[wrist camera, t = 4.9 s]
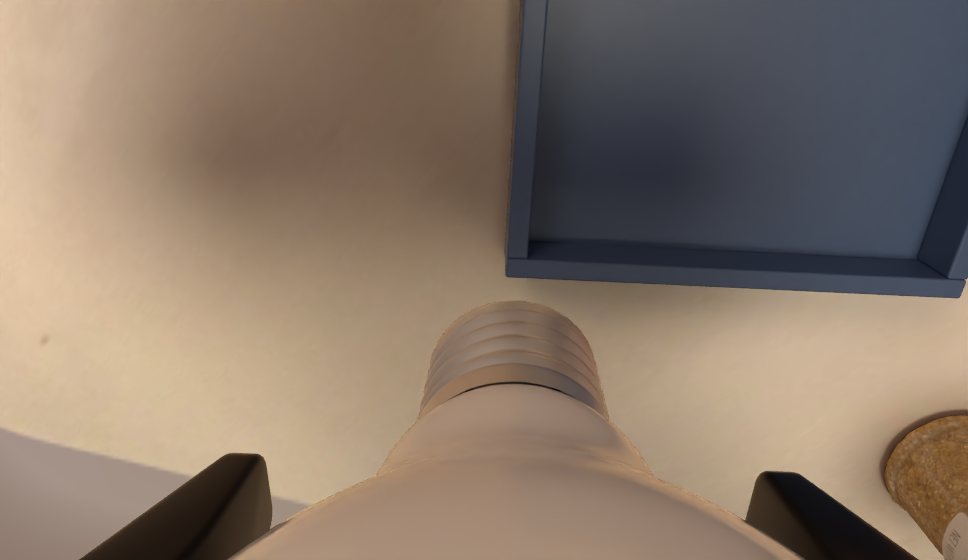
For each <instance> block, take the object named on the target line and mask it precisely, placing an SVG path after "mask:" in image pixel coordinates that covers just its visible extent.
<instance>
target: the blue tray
mask: <svg viewBox="0 0 968 560" xmlns="http://www.w3.org/2000/svg"><path fill="white" fill-rule="evenodd" d="M504 253H505V275H506V277H516V278H538V279H559V280H580V281H601V282H623V283H644V284H665V285H686V286H708V287H729V288H750V289H772V290H793V291H814V292H835V293H857V294H878V295H899V296H920V297H942V298H959V297H960V296H961V293H962V291H963V288H964V286H965V283H966V281H965V280H964V279H967V278H968V0H520V12H519V28H518V44H517V60H516V76H515V91H514V107H513V123H512V139H511V154H510V170H509V186H508V202H507V218H506V233H505V249H504Z"/></svg>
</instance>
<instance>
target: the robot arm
mask: <svg viewBox="0 0 968 560" xmlns="http://www.w3.org/2000/svg"><path fill="white" fill-rule="evenodd" d="M271 521H272V502H271V495H270V488H269V481H268V474H267V467H266V462H265V460H264V458H263V457H262V456H261V455H259V454H248V453H229V454H226V455H224V456H223V457H221V458H220V459H218V460H217V461H215V462H214V463H213V464H211V465H210V466H208V467H207V468H206V469H204V470H203V471H202V472H200V473H199V474H197V475H196V476H195V477H193V478H192V479H190V480H189V481H188V482H186V483H185V484H183V485H182V486H181V487H179V488H178V489H177V490H175V491H174V492H172V493H171V494H170V495H168V496H167V497H165V498H164V499H163V500H161V501H160V502H159V503H157V504H156V505H154V506H153V507H152V508H150V509H149V510H148V511H146V512H145V513H143V514H142V515H140V516H139V517H138V518H136V519H135V520H133V521H132V522H131V523H129V524H128V525H127V526H125V527H124V528H122V529H121V530H120V531H118V532H117V533H115V534H114V535H113V536H111V537H110V538H109V539H107V540H106V541H104V542H103V543H102V544H100V545H99V546H97V547H96V548H95V549H93V550H92V551H91V552H89V553H88V554H86V555H85V556H84V557H82V558H81V559H79V560H226V559H227V558H229V557H230V556H232V555H233V554H234V553H236V552H237V551H239V550H240V549H241V548H243V547H244V546H246V545H247V544H248V543H250V542H252V541H253V540H255V539H256V538H258V537H259V536H261V535H262V534H264V533H265V532H267V531H269V530H270V526H271ZM745 521H746V522H748V523H750V524H752V525H753V526H755V527H757V528H759V529H760V530H762V531H764V532H765V533H767V534H769V535H770V536H772V537H773V538H775V539H776V540H778V541H780V542H781V543H783V544H784V545H786V546H787V547H789V548H790V549H792V550H794V551H795V552H797V553H798V554H800V555H801V556H802V557H804V558H805V559H807V560H918V559H917V558H915V557H914V556H913V555H911V554H910V553H909V552H907V551H906V550H904V549H903V548H902V547H900V546H899V545H897V544H896V543H895V542H893V541H892V540H890V539H889V538H888V537H886V536H885V535H884V534H882V533H881V532H879V531H878V530H877V529H875V528H874V527H872V526H871V525H870V524H868V523H867V522H866V521H864V520H863V519H861V518H860V517H859V516H857V515H856V514H854V513H853V512H852V511H850V510H849V509H847V508H846V507H845V506H843V505H842V504H841V503H839V502H838V501H836V500H835V499H834V498H832V497H831V496H829V495H828V494H827V493H825V492H824V491H822V490H821V489H820V488H818V487H817V486H816V485H814V484H813V483H811V482H810V481H809V480H807V479H806V478H804V477H803V476H801V475H800V474H798V473H794V472H779V471H765V472H762V473H761V474H760V475H759V476H758V477H757V480H756V482H755V486H754V490H753V494H752V497H751V501H750V505H749V509H748V512H747V516H746V520H745Z"/></svg>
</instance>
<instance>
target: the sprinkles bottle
mask: <svg viewBox="0 0 968 560" xmlns="http://www.w3.org/2000/svg"><path fill="white" fill-rule="evenodd" d="M885 482H886V485H887V488H888V491H889V493H890V494H891V496H892V498H893V500H894V501H895V502H896V503H898V504H899V505H900V506H901V507H902V508H903V509H904V510H906V511H907V512H908V513H909V514H910V516H911V517H912V518H913V519H914V520H915V522H916V523H917V524H918V525H919V527H920V528H921V529H922V530H923V532H924V533H925V534H926V536H927V537H928V538H929V540H930V541H931V542H932V543H933V545H934V546H935V547H936V548H937V549H938V551H939V552H940V553H941V554H942V555H943V556H944V559H945V560H968V415H961V416H949V417H944V418H940V419H936V420H934V421H931V422H929V423H927V424H925V425H923V426H921V427H919V428H917V429H916V430H914V431H912V432H910V433H909V434H907V435H906V437H905V438H904V439H903V440H902V441H901V442H900V443H898V444H897V446H896V447H895V449H894V451H893V453H892V454H891V457H890V459H889V460H888V461H887V464H886V470H885Z"/></svg>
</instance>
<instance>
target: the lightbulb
mask: <svg viewBox="0 0 968 560" xmlns="http://www.w3.org/2000/svg"><path fill="white" fill-rule="evenodd" d="M226 560H807V559H805V558H804V557H802V556H801V555H800V554H798V553H797V552H795V551H794V550H792V549H790V548H789V547H787V546H786V545H784V544H783V543H781V542H780V541H778V540H776V539H775V538H773V537H772V536H770V535H769V534H767V533H765V532H764V531H762V530H760V529H759V528H757V527H755V526H753V525H752V524H750V523H748V522H746V521H745V520H743V519H741V518H740V517H738V516H736V515H734V514H732V513H730V512H728V511H726V510H725V509H723V508H721V507H719V506H717V505H715V504H713V503H711V502H709V501H707V500H705V499H703V498H701V497H699V496H697V495H694V494H692V493H690V492H688V491H686V490H683V489H681V488H679V487H677V486H674V485H672V484H670V483H667V482H665V481H662V480H660V479H657V478H655V477H654V476H653V474H652V473H651V471H650V470H649V468H648V466H647V465H646V463H645V462H644V460H643V459H642V457H641V456H640V454H639V453H638V451H637V450H636V449H635V447H634V446H633V445H632V444H631V442H630V441H629V440H628V439H627V438H626V437H625V435H624V434H623V433H622V432H621V431H620V430H619V429H618V428H617V427H616V426H615V425H614V424H612V423H611V422H610V421H609V416H608V411H607V408H606V405H605V399H604V395H603V391H602V389H601V383H600V379H599V375H598V371H597V366H596V362H595V359H594V356H593V353H592V350H591V347H590V345H589V343H588V341H587V340H586V338H585V336H584V335H583V334H582V332H581V331H580V330H579V329H578V328H577V326H575V325H574V324H573V323H572V322H571V321H570V320H569V319H567V318H566V317H565V316H563V315H562V314H560V313H558V312H556V311H555V310H553V309H550V308H548V307H545V306H542V305H539V304H536V303H531V302H525V301H500V302H494V303H490V304H486V305H483V306H480V307H477V308H475V309H473V310H471V311H469V312H467V313H465V314H464V315H462V316H461V317H459V318H458V319H457V320H455V321H454V322H453V323H452V324H451V325H450V326H449V327H448V328H447V329H446V330H445V332H444V333H443V334H442V336H441V337H440V339H439V341H438V342H437V344H436V346H435V348H434V350H433V353H432V357H431V361H430V367H429V371H428V376H427V381H426V384H425V389H424V395H423V398H422V402H421V407H420V413H419V416H418V420H417V422H416V423H415V424H414V425H413V426H412V427H411V428H410V429H409V430H408V431H407V432H406V433H405V434H404V435H403V436H402V437H401V439H400V440H399V441H398V442H397V444H396V445H395V446H394V448H393V449H392V450H391V452H390V453H389V455H388V456H387V458H386V459H385V461H384V463H383V464H382V466H381V468H380V469H379V471H378V473H377V475H376V476H375V477H372V478H370V479H367V480H365V481H363V482H360V483H358V484H356V485H353V486H351V487H349V488H347V489H344V490H342V491H340V492H338V493H336V494H334V495H332V496H330V497H328V498H326V499H324V500H322V501H320V502H318V503H316V504H314V505H312V506H310V507H308V508H306V509H304V510H303V511H301V512H299V513H297V514H295V515H294V516H292V517H290V518H288V519H287V520H285V521H283V522H282V523H280V524H278V525H277V526H275V527H273V528H272V529H270V530H269V531H267V532H265V533H264V534H262V535H261V536H259V537H258V538H256V539H255V540H253V541H252V542H250V543H248V544H247V545H246V546H244V547H243V548H241V549H240V550H239V551H237V552H236V553H234V554H233V555H232V556H230V557H229V558H227V559H226Z"/></svg>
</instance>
